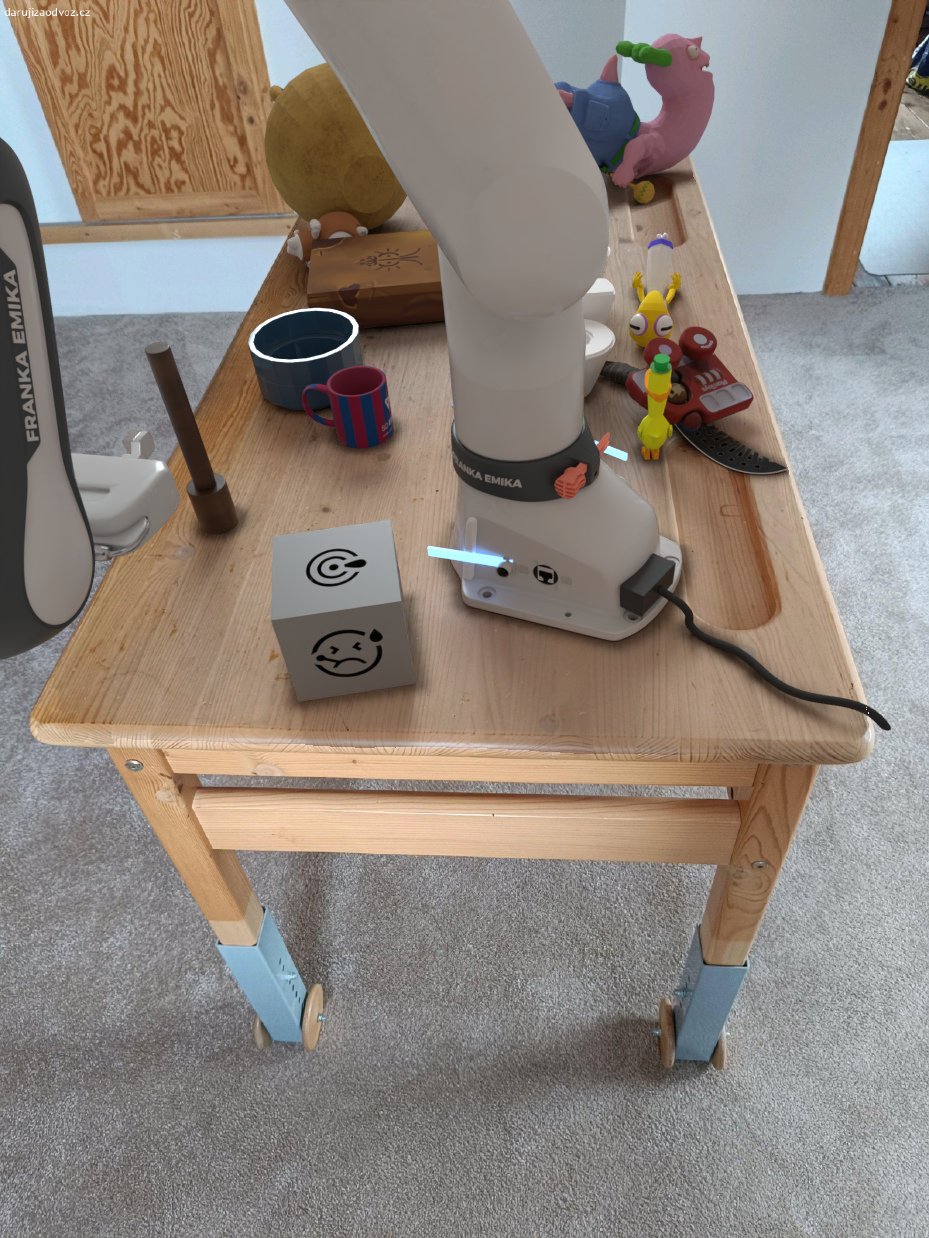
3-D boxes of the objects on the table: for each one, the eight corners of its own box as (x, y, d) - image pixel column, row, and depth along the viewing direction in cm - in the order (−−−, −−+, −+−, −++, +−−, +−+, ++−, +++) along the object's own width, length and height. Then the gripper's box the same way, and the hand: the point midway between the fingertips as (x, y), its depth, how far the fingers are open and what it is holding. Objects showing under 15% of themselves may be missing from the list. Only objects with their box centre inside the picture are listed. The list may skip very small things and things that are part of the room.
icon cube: (404, 602, 79) (390, 519, 71) (415, 683, 72) (401, 601, 65) (297, 618, 78) (273, 536, 71) (298, 701, 71) (270, 620, 64)
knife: (753, 495, 88) (788, 474, 89) (756, 481, 86) (791, 461, 88) (583, 378, 104) (615, 363, 105) (583, 366, 103) (615, 350, 104)
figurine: (300, 254, 121) (378, 243, 125) (281, 203, 123) (359, 194, 127) (296, 296, 129) (369, 285, 133) (279, 247, 131) (352, 238, 135)
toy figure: (631, 436, 95) (639, 337, 86) (663, 435, 94) (675, 335, 86) (637, 472, 90) (647, 371, 81) (671, 471, 90) (684, 369, 81)
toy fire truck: (627, 345, 90) (684, 412, 87) (712, 317, 95) (771, 380, 91) (607, 392, 96) (661, 457, 93) (689, 364, 101) (743, 424, 97)
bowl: (388, 373, 108) (380, 321, 103) (320, 425, 101) (308, 372, 96) (309, 350, 114) (298, 300, 109) (240, 397, 106) (225, 346, 101)
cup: (385, 451, 96) (376, 398, 91) (302, 445, 98) (290, 394, 93) (400, 418, 100) (392, 366, 96) (321, 414, 102) (309, 363, 97)
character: (686, 227, 114) (683, 276, 99) (678, 302, 120) (673, 358, 105) (639, 226, 115) (628, 274, 100) (633, 300, 121) (622, 356, 106)
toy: (543, -3, 139) (701, 38, 148) (510, 159, 152) (656, 187, 162) (596, 5, 120) (772, 51, 129) (553, 189, 134) (714, 219, 143)
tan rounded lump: (353, 54, 113) (291, -3, 131) (259, 209, 122) (213, 135, 140) (472, 161, 130) (402, 97, 147) (381, 290, 139) (326, 215, 157)
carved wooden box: (314, 337, 116) (305, 296, 112) (319, 278, 129) (311, 240, 125) (480, 320, 116) (478, 278, 112) (468, 263, 129) (466, 224, 125)
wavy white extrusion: (502, 284, 123) (500, 209, 115) (617, 284, 121) (622, 207, 113) (468, 418, 99) (462, 334, 92) (610, 421, 97) (615, 335, 89)
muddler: (246, 517, 89) (189, 342, 75) (219, 539, 87) (155, 363, 73) (219, 506, 91) (158, 332, 77) (192, 527, 89) (124, 352, 74)
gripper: (109, 525, 54) (199, 407, 63) (-160, 498, 58) (-38, 391, 67) (142, 595, 58) (221, 476, 68) (-110, 566, 62) (-2, 457, 71)
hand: (91, 433), depth 67 cm, fingers open, 8 cm apart
